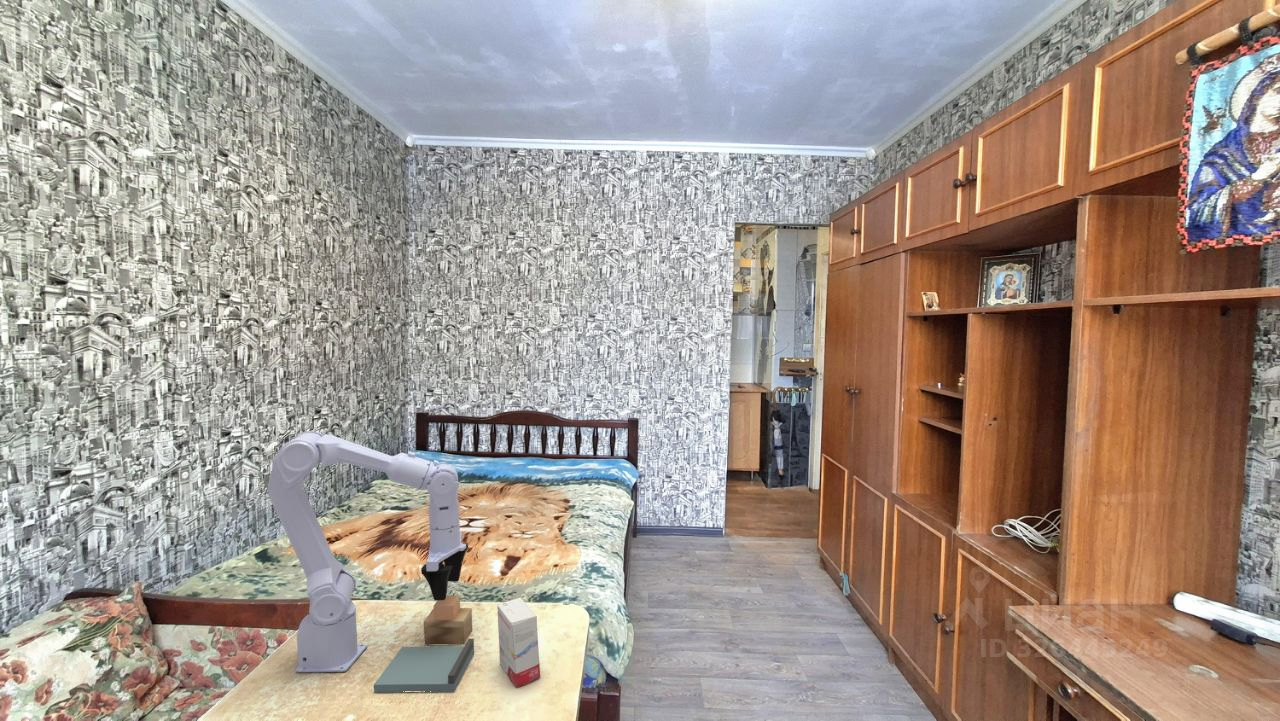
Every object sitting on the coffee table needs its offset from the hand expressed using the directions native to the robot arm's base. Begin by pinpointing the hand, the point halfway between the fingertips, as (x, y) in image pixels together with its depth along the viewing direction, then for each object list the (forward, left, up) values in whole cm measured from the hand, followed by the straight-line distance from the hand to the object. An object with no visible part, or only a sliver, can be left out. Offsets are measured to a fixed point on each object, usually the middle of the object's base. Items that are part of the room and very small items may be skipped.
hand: (447, 589), depth 108 cm
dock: (0, -11, -10) cm, 15 cm away
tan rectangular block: (0, 0, -10) cm, 10 cm away
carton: (0, 0, -5) cm, 5 cm away
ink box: (+17, -11, -10) cm, 23 cm away
